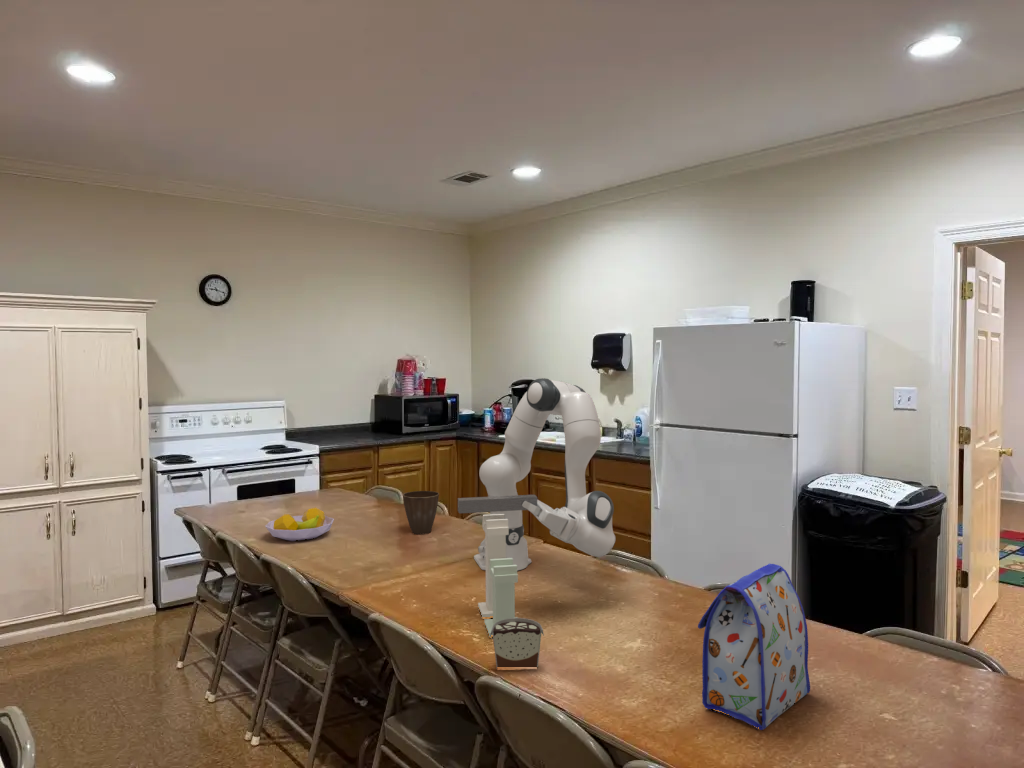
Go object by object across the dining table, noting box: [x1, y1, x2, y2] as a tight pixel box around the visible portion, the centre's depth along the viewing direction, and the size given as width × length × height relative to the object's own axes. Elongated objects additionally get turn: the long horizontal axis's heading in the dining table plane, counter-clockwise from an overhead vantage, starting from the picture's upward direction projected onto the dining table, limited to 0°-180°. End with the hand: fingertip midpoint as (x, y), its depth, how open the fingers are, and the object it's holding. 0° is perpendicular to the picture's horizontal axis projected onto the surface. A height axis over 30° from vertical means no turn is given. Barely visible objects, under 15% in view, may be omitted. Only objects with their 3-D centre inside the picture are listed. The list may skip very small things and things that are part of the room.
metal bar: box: [457, 494, 538, 514], centre depth 190 cm, size 22×4×4 cm, turn 101°
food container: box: [490, 617, 545, 668], centre depth 158 cm, size 12×6×10 cm, turn 92°
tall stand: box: [477, 513, 509, 618], centre depth 191 cm, size 9×9×27 cm
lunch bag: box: [697, 563, 811, 731], centre depth 141 cm, size 23×17×27 cm
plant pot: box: [402, 490, 440, 535], centre depth 282 cm, size 15×15×16 cm
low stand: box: [483, 558, 519, 637], centre depth 178 cm, size 9×9×18 cm
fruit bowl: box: [265, 506, 335, 542], centre depth 276 cm, size 28×27×11 cm
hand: (521, 501), depth 192 cm, fingers closed on metal bar, 3 cm apart
